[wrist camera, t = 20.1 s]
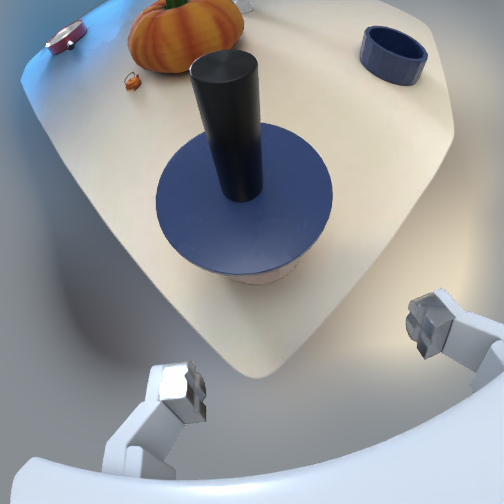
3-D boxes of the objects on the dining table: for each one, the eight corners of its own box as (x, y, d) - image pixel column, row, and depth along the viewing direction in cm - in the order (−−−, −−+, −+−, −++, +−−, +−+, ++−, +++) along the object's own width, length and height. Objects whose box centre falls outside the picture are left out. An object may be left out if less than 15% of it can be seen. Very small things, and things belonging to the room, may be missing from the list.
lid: (353, 171, 18) (399, 55, 9) (275, 315, 16) (288, 270, 6) (222, 115, 21) (201, 7, 11) (131, 224, 18) (42, 132, 8)
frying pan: (112, 39, 44) (102, 21, 38) (68, 73, 42) (55, 56, 36) (82, 27, 52) (75, 14, 45) (50, 52, 50) (41, 40, 44)
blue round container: (421, 67, 33) (430, 46, 28) (412, 95, 31) (424, 70, 26) (368, 43, 35) (373, 20, 30) (351, 66, 33) (357, 39, 28)
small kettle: (125, 86, 37) (119, 76, 34) (140, 77, 37) (135, 67, 34) (128, 94, 36) (121, 83, 33) (144, 85, 36) (138, 74, 33)
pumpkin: (263, 60, 35) (254, -22, 20) (143, 101, 35) (102, 28, 20) (228, 18, 40) (217, -40, 26) (137, 49, 40) (111, -5, 26)
